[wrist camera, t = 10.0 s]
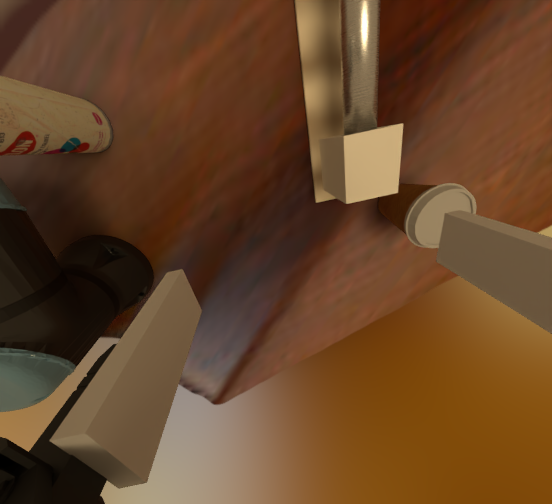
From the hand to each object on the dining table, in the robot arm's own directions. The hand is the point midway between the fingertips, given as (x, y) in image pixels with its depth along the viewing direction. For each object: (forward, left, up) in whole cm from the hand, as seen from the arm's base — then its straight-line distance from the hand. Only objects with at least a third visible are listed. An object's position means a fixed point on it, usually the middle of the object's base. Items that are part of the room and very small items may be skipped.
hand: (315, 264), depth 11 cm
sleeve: (+12, +1, -29) cm, 31 cm away
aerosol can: (-25, +13, -29) cm, 40 cm away
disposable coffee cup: (+22, -8, -29) cm, 37 cm away
